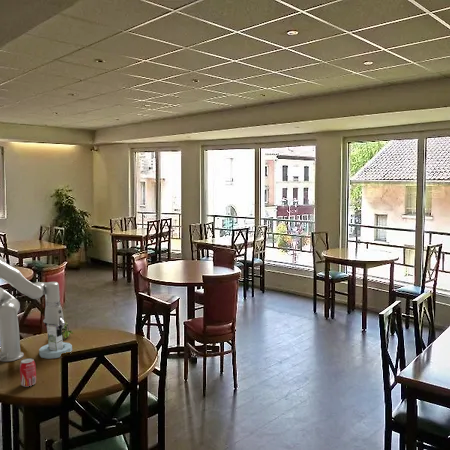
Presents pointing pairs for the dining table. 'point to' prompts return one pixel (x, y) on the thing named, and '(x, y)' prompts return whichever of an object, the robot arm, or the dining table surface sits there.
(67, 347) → the pale blue ring
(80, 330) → the dining table surface
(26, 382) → the soda can
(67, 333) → the passion flower
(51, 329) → the syrup box
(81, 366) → the dining table surface
